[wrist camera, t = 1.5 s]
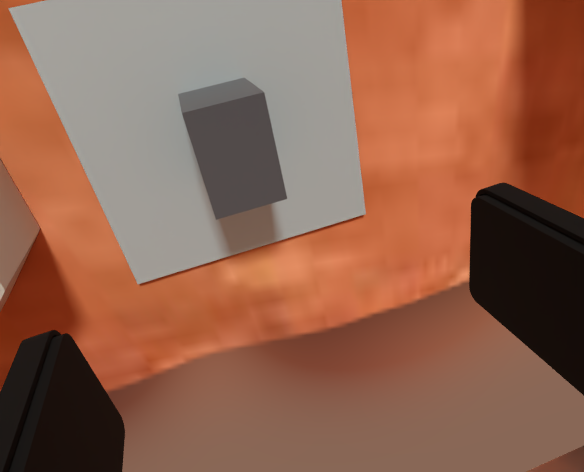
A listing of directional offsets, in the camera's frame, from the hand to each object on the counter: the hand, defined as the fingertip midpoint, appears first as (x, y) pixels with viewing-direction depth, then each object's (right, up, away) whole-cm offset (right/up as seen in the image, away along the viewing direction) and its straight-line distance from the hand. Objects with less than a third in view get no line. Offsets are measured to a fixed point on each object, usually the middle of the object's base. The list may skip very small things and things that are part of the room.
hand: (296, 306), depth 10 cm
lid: (-4, +8, +14) cm, 17 cm away
